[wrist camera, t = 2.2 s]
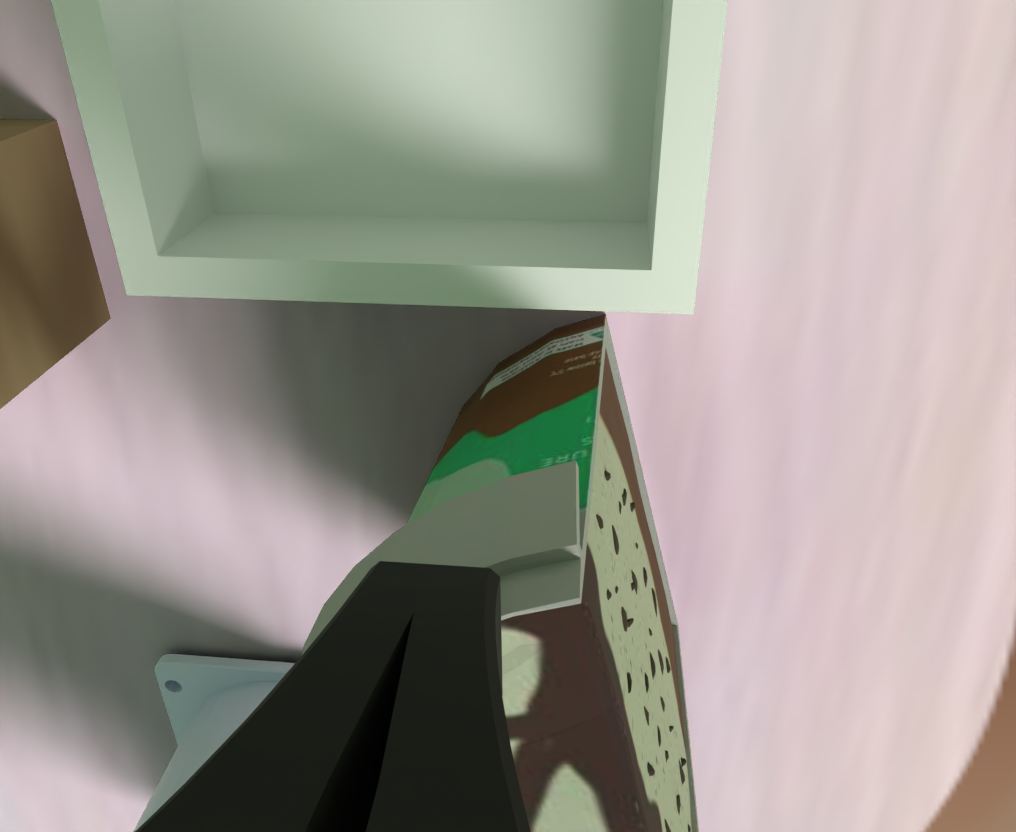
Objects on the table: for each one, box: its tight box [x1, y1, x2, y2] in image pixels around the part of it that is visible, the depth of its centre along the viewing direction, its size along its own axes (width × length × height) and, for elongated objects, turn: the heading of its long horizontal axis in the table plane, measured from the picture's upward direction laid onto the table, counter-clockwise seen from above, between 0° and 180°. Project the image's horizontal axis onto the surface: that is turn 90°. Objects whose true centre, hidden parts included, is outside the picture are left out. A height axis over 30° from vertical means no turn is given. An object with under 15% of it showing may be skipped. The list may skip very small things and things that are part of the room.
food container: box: [302, 314, 699, 832], centre depth 17 cm, size 12×6×10 cm, turn 15°
